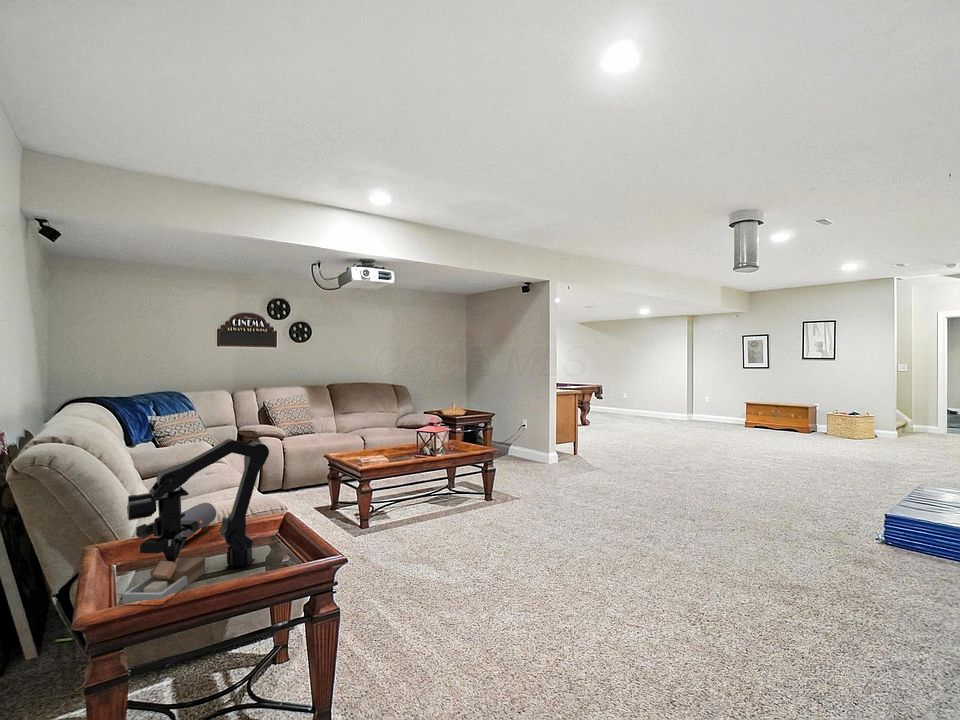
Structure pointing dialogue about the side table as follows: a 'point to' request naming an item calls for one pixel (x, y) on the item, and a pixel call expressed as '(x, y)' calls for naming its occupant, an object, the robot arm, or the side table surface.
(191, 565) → the stepped beige slab
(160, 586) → the tile front
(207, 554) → the side table surface
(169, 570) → the tile rear
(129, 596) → the tray
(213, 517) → the bluetooth speaker
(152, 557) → the side table surface
